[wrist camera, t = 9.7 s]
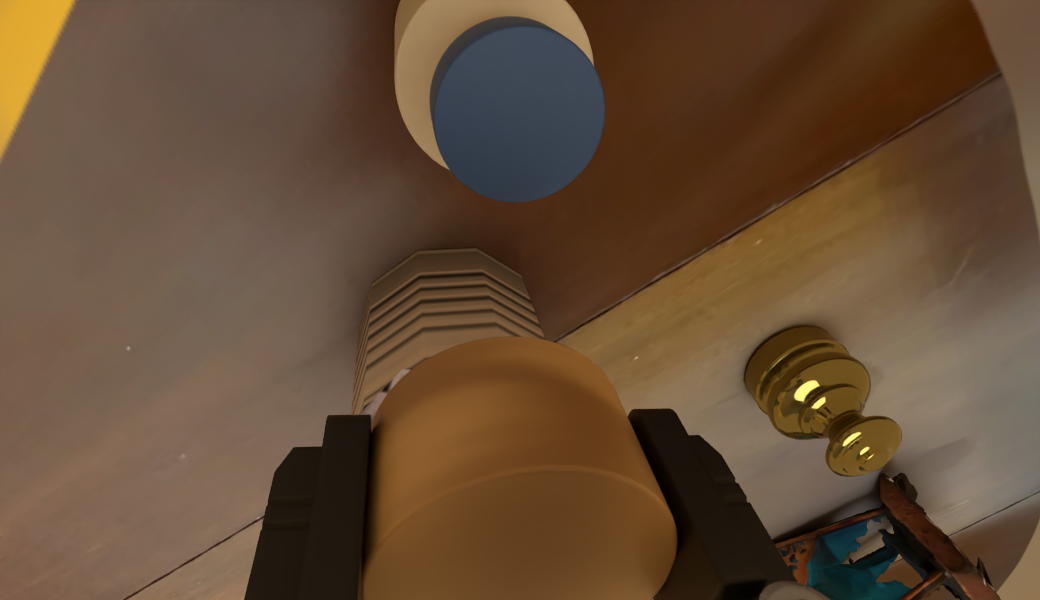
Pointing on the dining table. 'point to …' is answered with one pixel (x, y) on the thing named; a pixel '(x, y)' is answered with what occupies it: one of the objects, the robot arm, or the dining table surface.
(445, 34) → the cream bottle
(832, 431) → the brass weight
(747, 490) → the dining table surface
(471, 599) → the tan short cylinder
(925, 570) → the lantern
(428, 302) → the can
